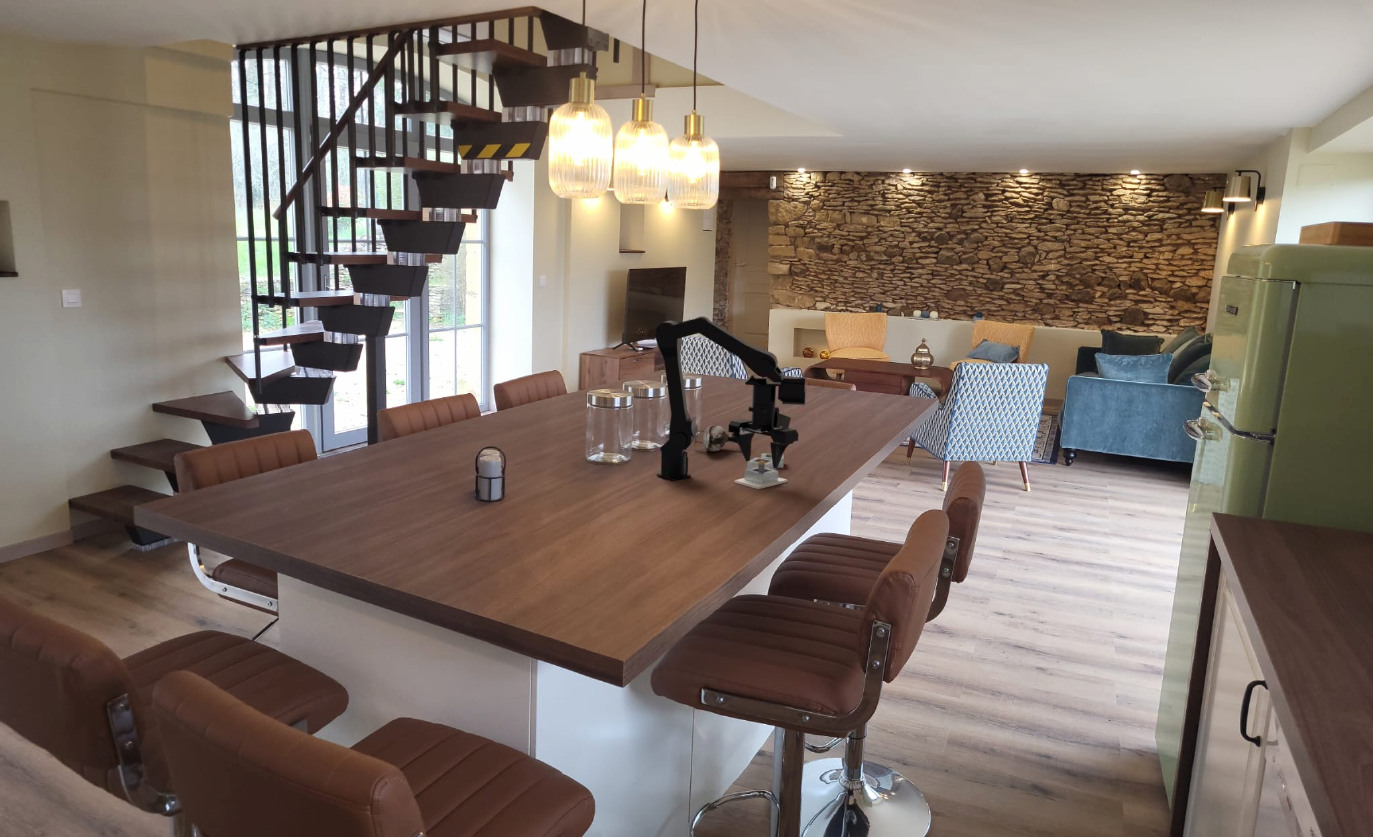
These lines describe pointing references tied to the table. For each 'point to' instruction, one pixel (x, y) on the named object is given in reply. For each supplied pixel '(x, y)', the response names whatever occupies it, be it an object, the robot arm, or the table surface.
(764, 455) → the grey square frame
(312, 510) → the table surface
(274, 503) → the table surface
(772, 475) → the end link
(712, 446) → the decorative duck model
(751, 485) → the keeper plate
